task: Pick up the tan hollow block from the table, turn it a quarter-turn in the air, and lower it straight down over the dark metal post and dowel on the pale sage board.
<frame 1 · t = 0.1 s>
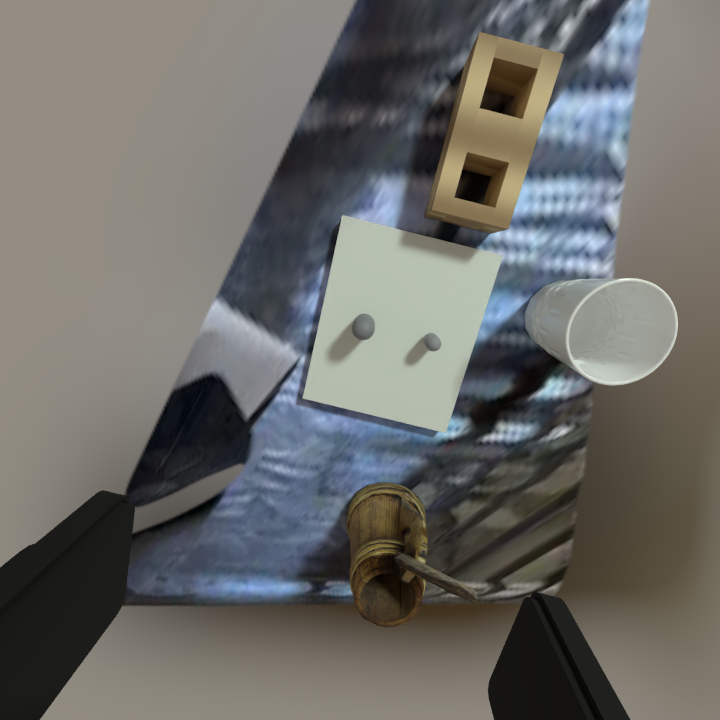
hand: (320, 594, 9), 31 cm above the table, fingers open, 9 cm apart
white cup: (557, 315, 38), on the table
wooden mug: (395, 500, 44), on the table
post board: (396, 328, 39), on the table
tan hollow block: (478, 153, 35), on the table
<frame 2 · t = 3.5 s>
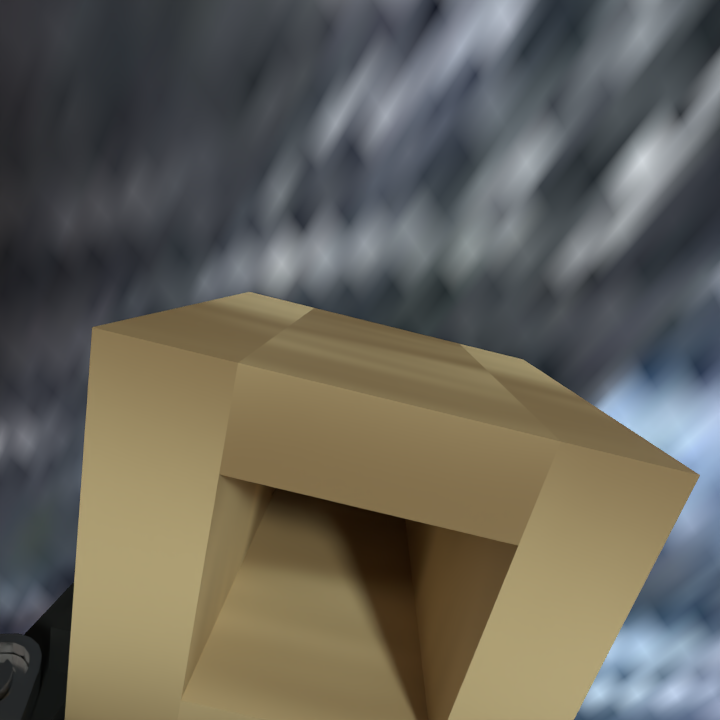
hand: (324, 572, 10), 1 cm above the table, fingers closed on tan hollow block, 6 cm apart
tan hollow block: (327, 552, 10), on the table, touching gripper
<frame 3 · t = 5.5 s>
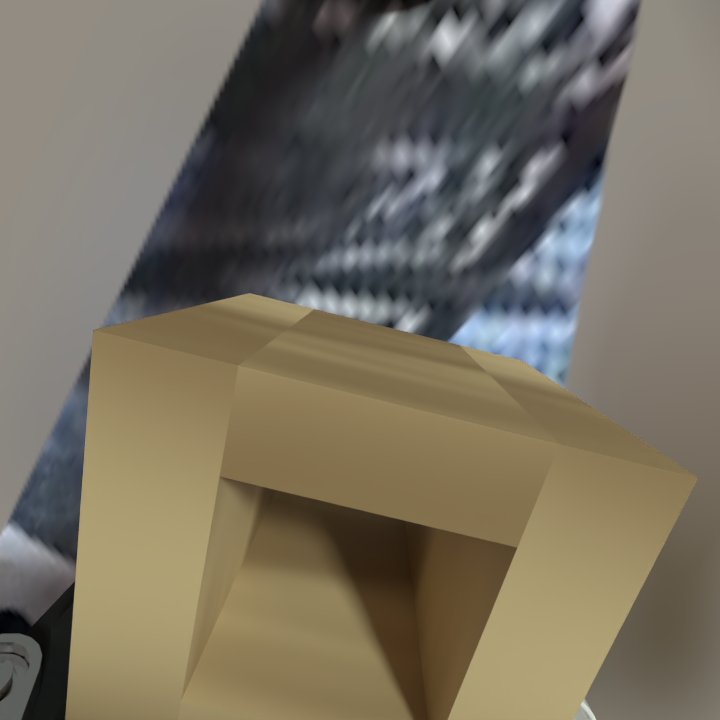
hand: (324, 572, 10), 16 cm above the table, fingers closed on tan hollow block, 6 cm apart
tan hollow block: (327, 552, 10), point 15 cm above the table, touching gripper
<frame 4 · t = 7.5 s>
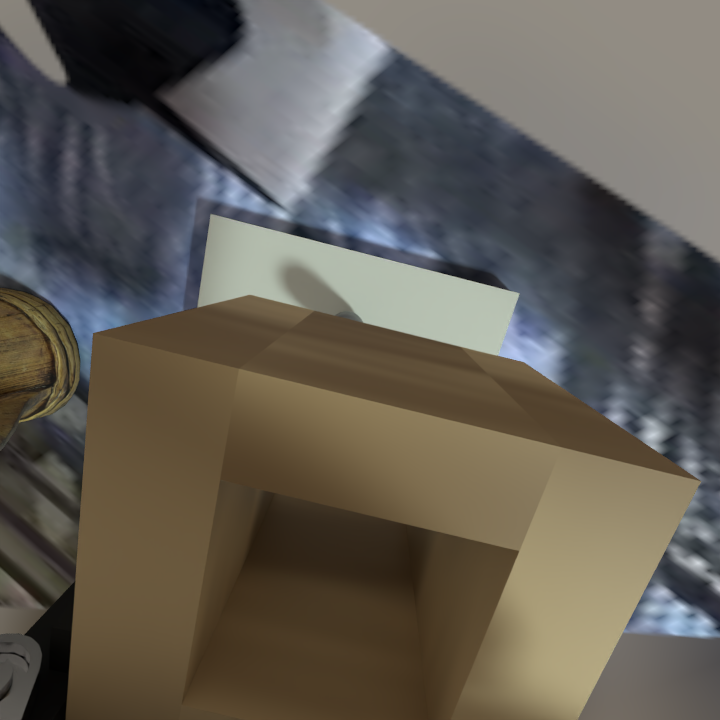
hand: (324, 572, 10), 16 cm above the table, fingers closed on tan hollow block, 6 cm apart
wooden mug: (51, 369, 26), on the table
post board: (338, 370, 25), on the table
tan hollow block: (328, 554, 10), point 15 cm above the table, touching gripper
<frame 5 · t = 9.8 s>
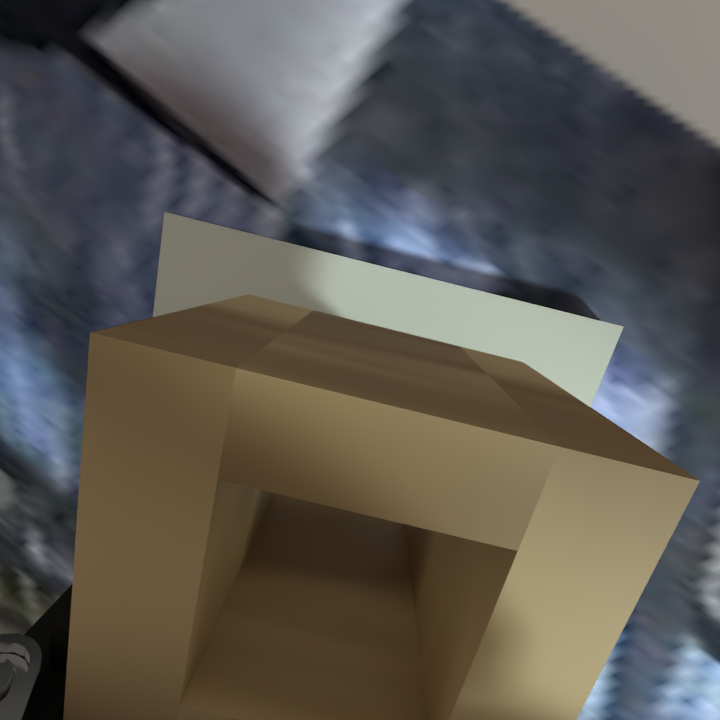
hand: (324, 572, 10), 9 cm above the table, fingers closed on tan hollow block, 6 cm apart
post board: (352, 430, 18), on the table
tan hollow block: (327, 554, 10), point 8 cm above the table, touching gripper
when the fingers open (3 cm above the table, at t = 11.6 s): tan hollow block stays where it is, resting on post board.
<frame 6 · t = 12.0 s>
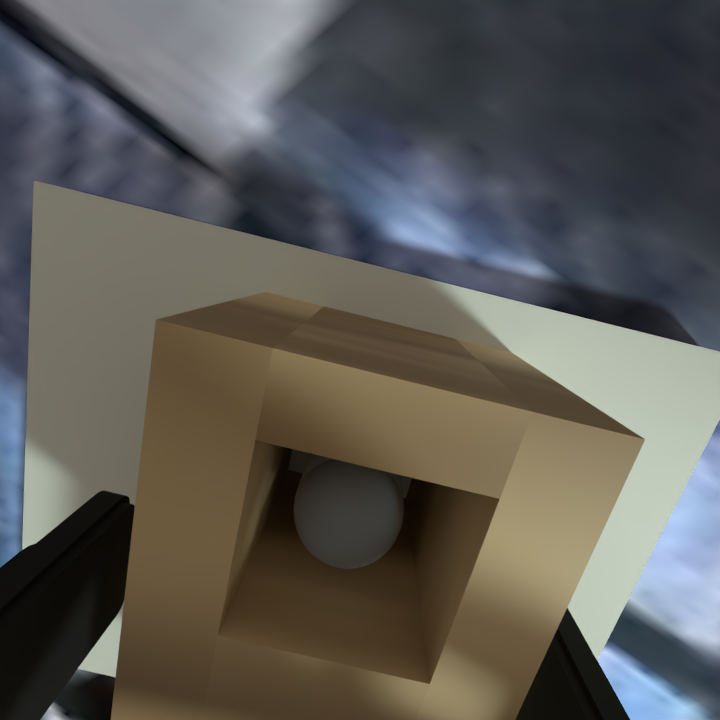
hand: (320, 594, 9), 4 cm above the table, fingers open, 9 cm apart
post board: (336, 498, 13), on the table
tan hollow block: (334, 530, 11), point 1 cm above the table, touching post board
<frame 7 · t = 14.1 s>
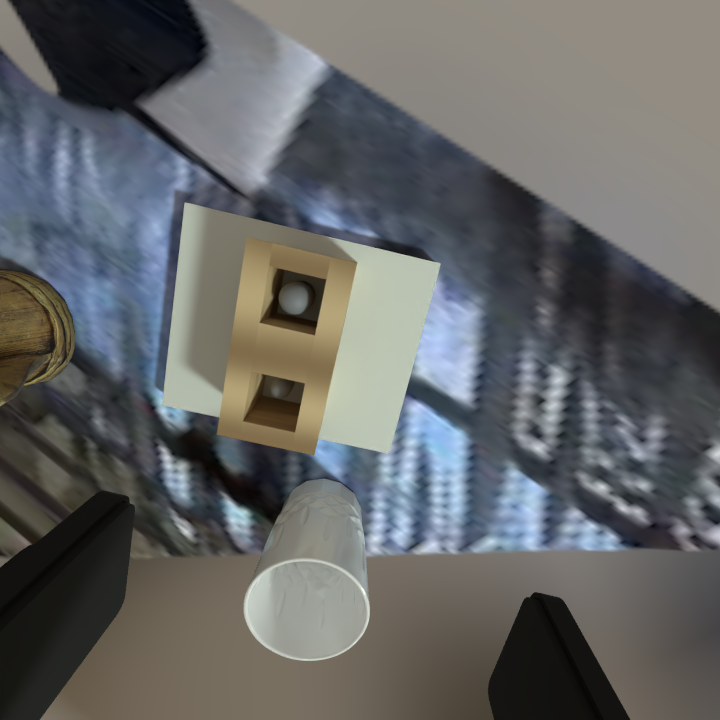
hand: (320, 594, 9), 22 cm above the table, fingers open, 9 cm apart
white cup: (322, 510, 34), on the table
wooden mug: (49, 341, 31), on the table
post board: (298, 334, 30), on the table
tan hollow block: (296, 338, 29), point 1 cm above the table, touching post board
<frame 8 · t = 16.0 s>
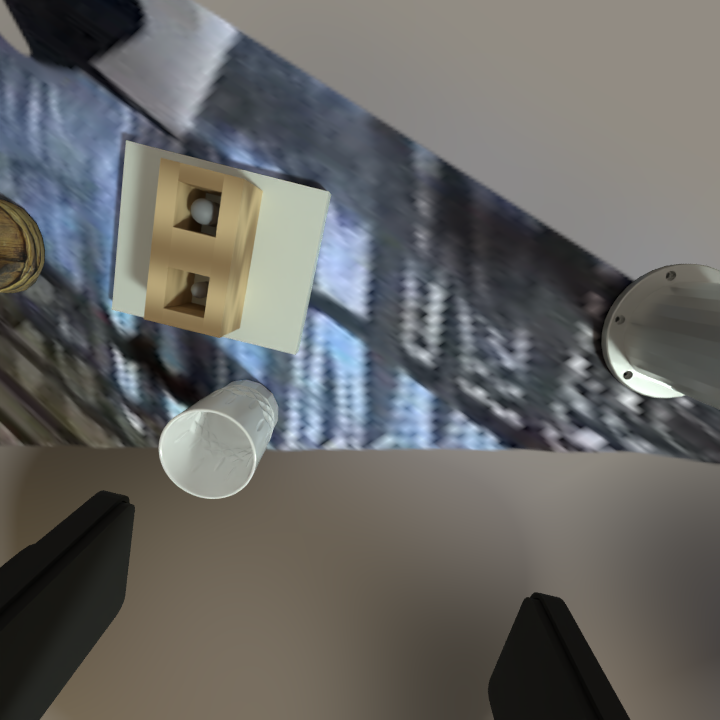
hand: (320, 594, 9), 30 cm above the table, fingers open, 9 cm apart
white cup: (247, 409, 41), on the table
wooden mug: (25, 258, 38), on the table
post board: (221, 253, 37), on the table
tan hollow block: (216, 253, 35), point 1 cm above the table, touching post board
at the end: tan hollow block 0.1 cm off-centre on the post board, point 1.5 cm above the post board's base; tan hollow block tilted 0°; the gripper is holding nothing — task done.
